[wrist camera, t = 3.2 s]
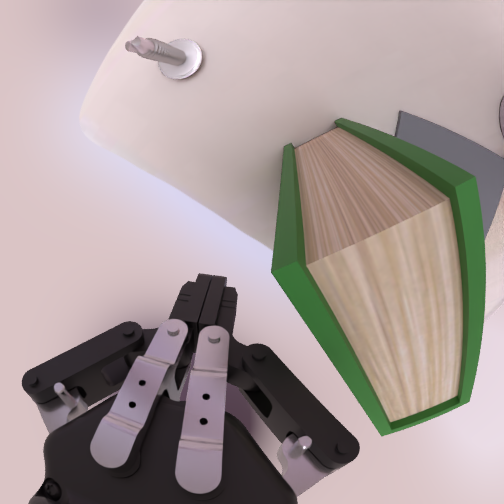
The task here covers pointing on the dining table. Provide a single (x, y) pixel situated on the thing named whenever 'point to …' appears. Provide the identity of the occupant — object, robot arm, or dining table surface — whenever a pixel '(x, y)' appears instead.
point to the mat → (458, 158)
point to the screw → (169, 55)
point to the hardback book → (385, 268)
